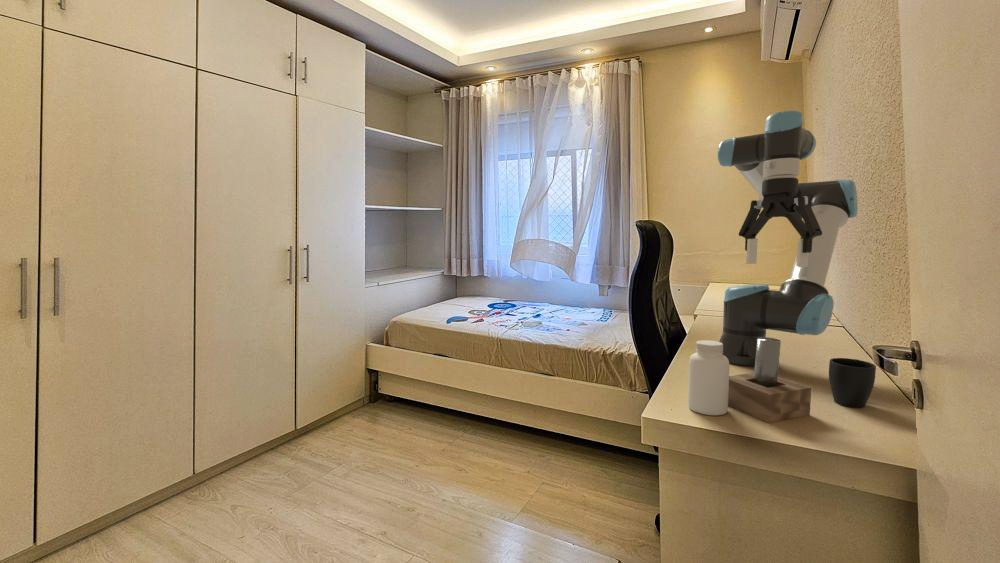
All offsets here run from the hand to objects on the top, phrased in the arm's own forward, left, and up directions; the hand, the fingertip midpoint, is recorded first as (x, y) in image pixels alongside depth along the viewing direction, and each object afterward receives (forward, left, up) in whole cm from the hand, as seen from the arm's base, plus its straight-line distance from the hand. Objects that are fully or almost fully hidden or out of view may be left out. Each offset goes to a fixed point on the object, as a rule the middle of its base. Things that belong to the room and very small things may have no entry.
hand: (775, 265), depth 110 cm
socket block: (+15, +11, -31) cm, 36 cm away
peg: (+15, +11, -29) cm, 35 cm away
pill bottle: (+27, +7, -31) cm, 42 cm away
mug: (-8, +15, -31) cm, 35 cm away
